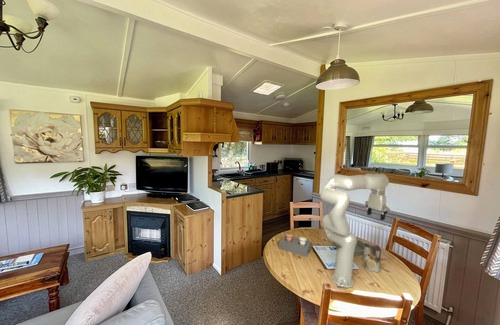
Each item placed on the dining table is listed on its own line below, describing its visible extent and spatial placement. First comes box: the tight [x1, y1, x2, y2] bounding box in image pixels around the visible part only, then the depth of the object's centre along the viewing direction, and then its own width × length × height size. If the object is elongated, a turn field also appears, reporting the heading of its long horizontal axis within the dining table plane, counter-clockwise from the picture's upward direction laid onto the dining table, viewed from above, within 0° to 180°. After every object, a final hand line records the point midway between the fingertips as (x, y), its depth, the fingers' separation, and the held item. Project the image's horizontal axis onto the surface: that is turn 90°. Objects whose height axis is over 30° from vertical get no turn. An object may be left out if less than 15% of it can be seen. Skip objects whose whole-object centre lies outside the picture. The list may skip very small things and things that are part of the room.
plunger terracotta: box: [285, 232, 294, 242], centre depth 168 cm, size 6×6×6 cm
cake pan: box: [333, 239, 364, 256], centre depth 170 cm, size 25×25×4 cm
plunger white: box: [298, 236, 308, 246], centre depth 162 cm, size 6×6×6 cm
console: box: [278, 234, 313, 258], centre depth 165 cm, size 14×22×6 cm, turn 60°
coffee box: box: [362, 242, 382, 273], centre depth 142 cm, size 9×6×16 cm
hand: (375, 217), depth 140 cm, fingers open, 9 cm apart
